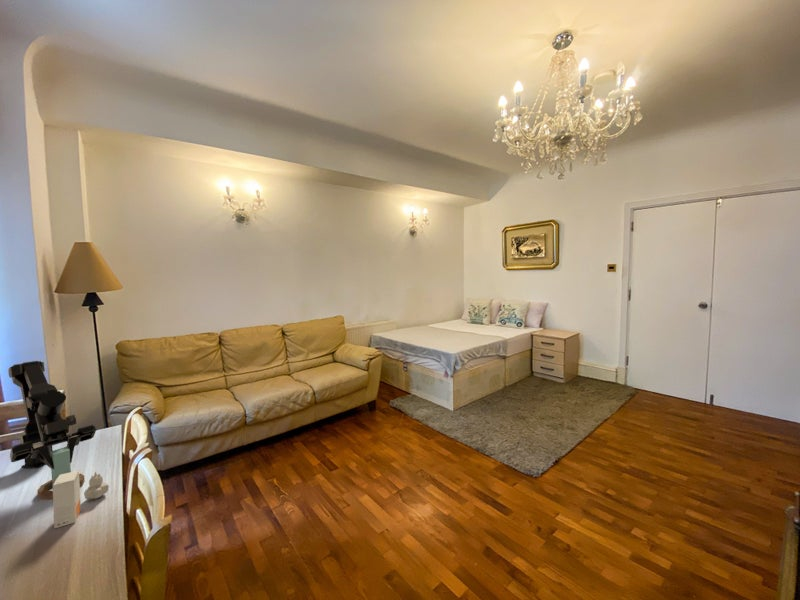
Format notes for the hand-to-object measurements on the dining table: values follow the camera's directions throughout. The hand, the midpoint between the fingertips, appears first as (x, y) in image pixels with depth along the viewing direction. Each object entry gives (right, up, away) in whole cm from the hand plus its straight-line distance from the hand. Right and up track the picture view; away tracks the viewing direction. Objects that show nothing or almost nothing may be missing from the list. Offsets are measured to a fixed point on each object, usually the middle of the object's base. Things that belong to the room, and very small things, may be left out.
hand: (61, 465), depth 103 cm
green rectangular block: (-1, -7, +1) cm, 7 cm away
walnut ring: (-1, -8, +1) cm, 8 cm away
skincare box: (+14, -9, -12) cm, 21 cm away
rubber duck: (+14, -8, -3) cm, 17 cm away
